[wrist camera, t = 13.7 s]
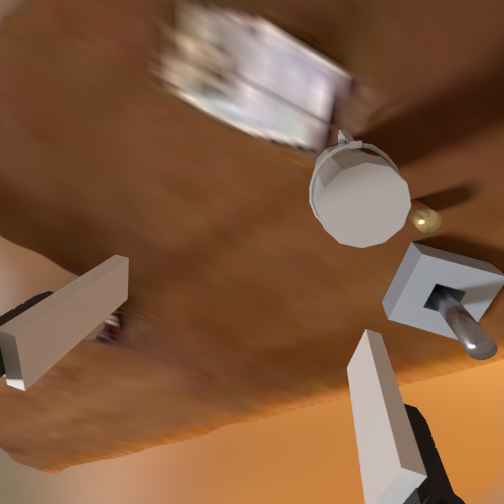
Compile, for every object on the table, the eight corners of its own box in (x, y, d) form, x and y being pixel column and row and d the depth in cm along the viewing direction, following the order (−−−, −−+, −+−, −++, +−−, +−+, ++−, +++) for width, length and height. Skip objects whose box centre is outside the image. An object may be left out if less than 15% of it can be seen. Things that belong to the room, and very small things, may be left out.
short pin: (407, 197, 44) (422, 208, 37) (427, 202, 43) (446, 214, 37) (398, 215, 45) (412, 229, 39) (418, 220, 45) (435, 235, 38)
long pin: (426, 273, 48) (475, 336, 33) (445, 278, 47) (502, 344, 33) (418, 288, 49) (462, 355, 34) (436, 293, 49) (488, 363, 34)
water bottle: (363, 191, 45) (414, 253, 22) (312, 194, 46) (309, 254, 24) (367, 126, 41) (430, 122, 19) (311, 132, 43) (307, 134, 20)
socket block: (411, 241, 46) (422, 254, 42) (489, 262, 45) (508, 277, 40) (381, 302, 51) (388, 319, 47) (450, 322, 50) (464, 341, 45)
